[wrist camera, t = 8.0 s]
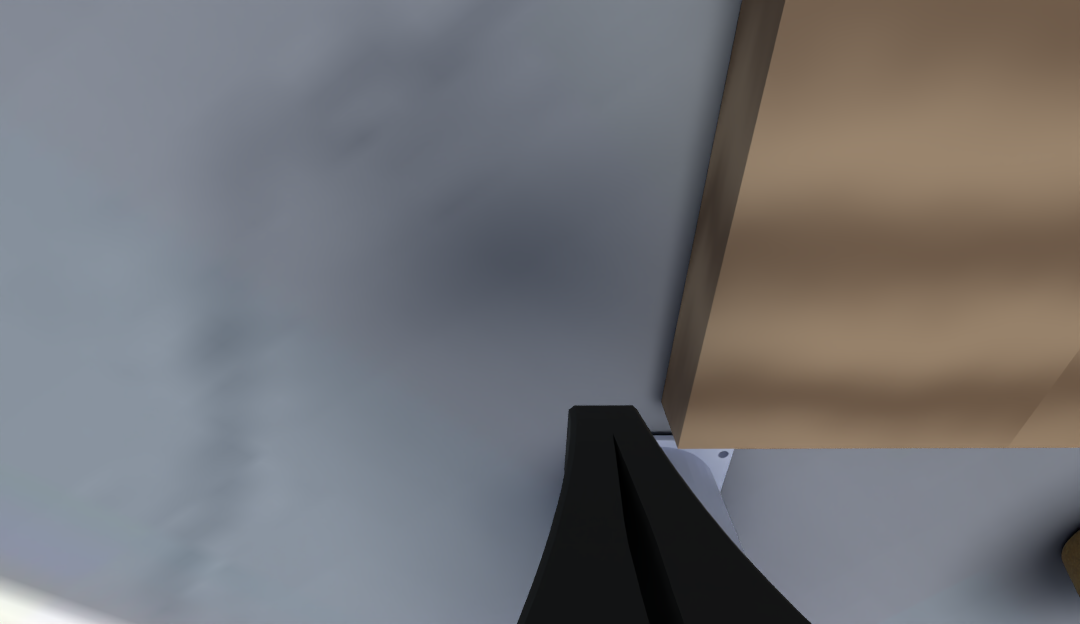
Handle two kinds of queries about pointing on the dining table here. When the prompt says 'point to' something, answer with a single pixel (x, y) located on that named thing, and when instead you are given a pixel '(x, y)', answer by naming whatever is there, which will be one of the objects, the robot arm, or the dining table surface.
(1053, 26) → the brown wooden flat block
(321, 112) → the dining table surface
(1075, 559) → the plant pot
